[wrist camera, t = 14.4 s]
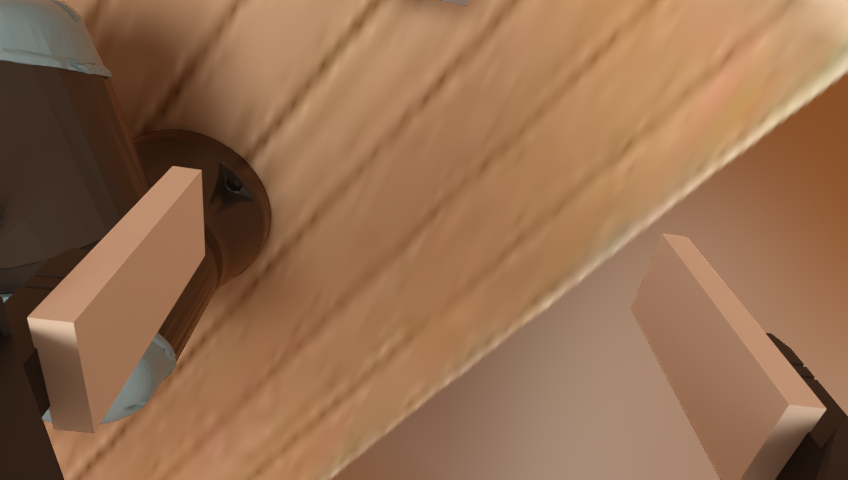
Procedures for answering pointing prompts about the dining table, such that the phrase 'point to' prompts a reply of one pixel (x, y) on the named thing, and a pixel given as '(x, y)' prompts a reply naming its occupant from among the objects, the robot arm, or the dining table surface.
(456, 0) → the cup
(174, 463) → the dining table surface
